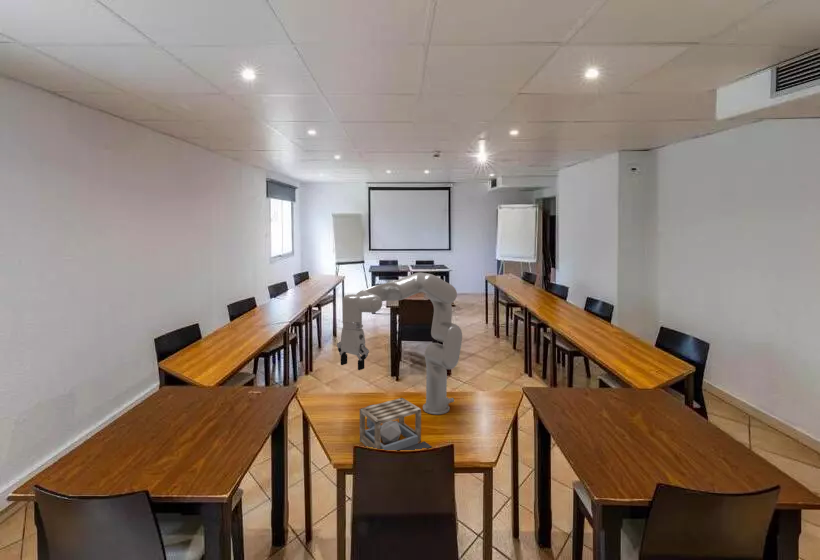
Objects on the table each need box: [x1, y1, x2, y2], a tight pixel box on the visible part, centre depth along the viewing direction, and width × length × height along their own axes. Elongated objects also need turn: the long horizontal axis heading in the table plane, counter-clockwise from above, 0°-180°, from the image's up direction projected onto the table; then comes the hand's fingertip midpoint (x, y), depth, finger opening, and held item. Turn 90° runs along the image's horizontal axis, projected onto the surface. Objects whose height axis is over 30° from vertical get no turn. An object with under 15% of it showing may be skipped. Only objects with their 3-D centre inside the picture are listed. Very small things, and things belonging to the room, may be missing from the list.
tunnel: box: [359, 397, 422, 449], centre depth 168 cm, size 20×14×14 cm
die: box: [380, 420, 402, 445], centre depth 168 cm, size 8×9×10 cm
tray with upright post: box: [365, 404, 419, 450], centre depth 171 cm, size 16×24×9 cm, turn 34°
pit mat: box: [400, 441, 433, 450], centre depth 163 cm, size 12×5×1 cm, turn 124°
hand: (352, 366), depth 171 cm, fingers open, 9 cm apart
